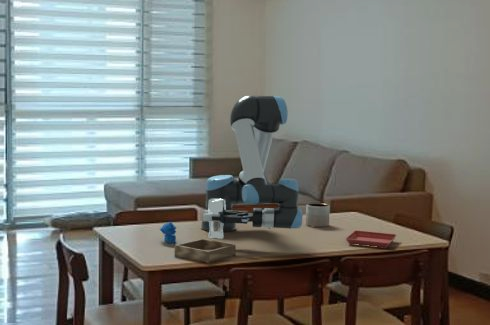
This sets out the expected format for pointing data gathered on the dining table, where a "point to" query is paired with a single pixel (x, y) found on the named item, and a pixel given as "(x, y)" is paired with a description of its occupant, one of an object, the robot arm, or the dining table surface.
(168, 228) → the blue figurine
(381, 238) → the plant saucer
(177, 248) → the crate
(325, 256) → the dining table surface
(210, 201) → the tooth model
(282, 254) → the dining table surface
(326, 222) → the planter
